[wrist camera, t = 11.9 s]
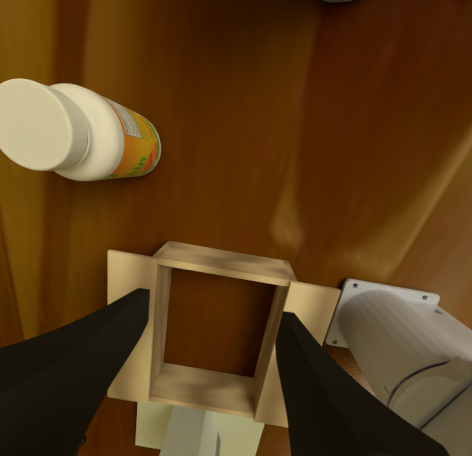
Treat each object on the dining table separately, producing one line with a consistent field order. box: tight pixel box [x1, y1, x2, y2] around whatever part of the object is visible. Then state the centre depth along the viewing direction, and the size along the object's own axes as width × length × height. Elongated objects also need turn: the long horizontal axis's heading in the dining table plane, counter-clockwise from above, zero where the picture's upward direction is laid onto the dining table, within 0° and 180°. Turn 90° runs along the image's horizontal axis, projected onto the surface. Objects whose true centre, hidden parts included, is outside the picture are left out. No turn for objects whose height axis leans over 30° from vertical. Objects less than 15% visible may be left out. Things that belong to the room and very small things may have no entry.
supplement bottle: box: [0, 79, 161, 181], centre depth 15 cm, size 5×5×10 cm
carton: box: [108, 241, 341, 427], centre depth 22 cm, size 19×16×4 cm
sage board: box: [135, 401, 264, 456], centre depth 28 cm, size 16×12×1 cm
